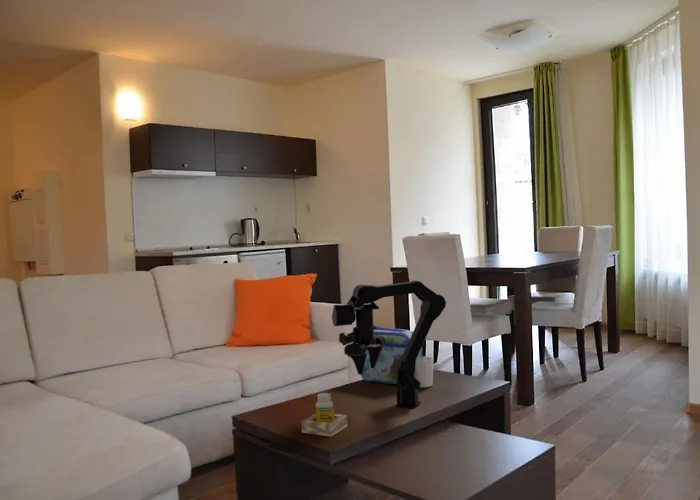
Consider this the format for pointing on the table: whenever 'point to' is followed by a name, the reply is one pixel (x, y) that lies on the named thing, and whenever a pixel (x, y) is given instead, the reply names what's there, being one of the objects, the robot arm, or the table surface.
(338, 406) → the table surface
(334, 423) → the holder
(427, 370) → the white cup
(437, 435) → the table surface
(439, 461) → the table surface
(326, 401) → the supplement bottle
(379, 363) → the lunch box
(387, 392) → the table surface
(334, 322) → the robot arm
